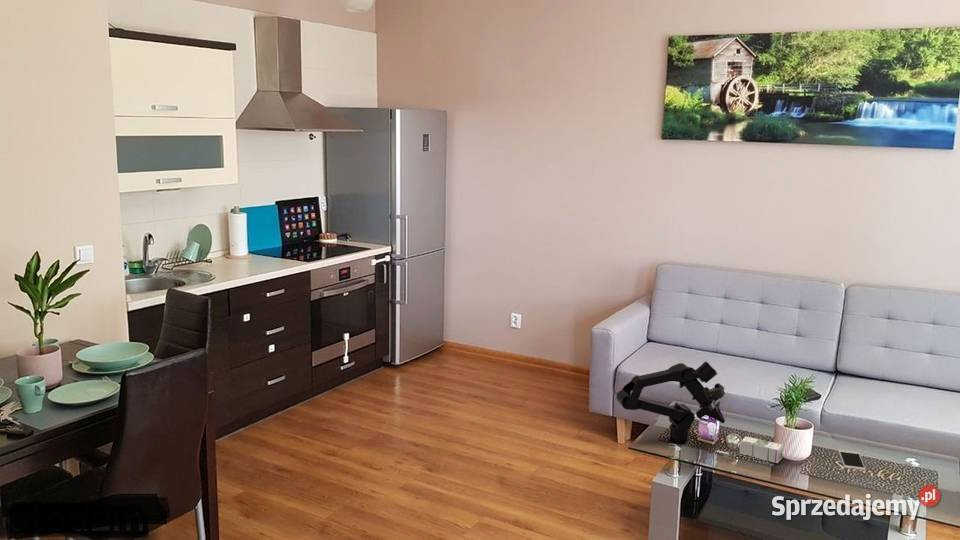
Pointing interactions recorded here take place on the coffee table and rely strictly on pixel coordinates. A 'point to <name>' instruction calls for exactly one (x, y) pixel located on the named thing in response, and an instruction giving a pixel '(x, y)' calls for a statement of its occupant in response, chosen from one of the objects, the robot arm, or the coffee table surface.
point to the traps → (727, 457)
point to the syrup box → (761, 449)
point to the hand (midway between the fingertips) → (724, 422)
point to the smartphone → (851, 460)
